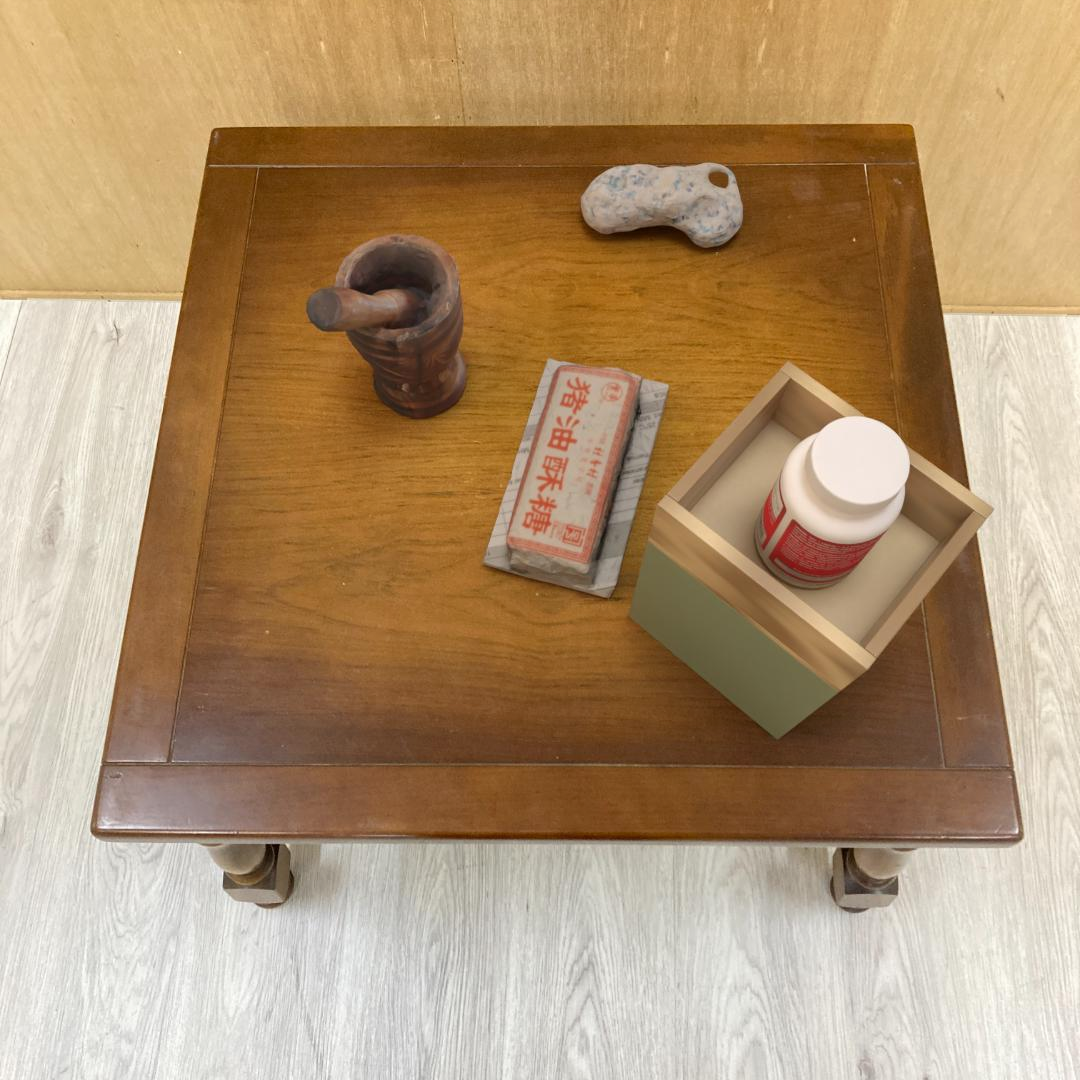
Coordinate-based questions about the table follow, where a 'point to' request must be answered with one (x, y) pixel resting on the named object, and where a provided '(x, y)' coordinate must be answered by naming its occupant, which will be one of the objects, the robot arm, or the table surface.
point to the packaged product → (578, 477)
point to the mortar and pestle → (400, 320)
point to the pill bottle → (832, 501)
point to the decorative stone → (665, 201)
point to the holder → (761, 596)
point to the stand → (724, 646)
